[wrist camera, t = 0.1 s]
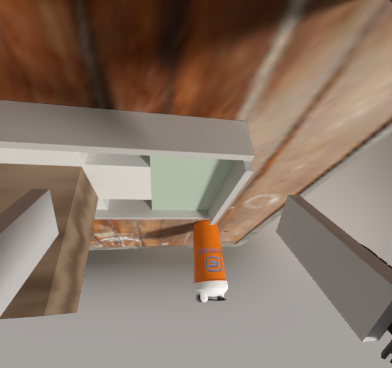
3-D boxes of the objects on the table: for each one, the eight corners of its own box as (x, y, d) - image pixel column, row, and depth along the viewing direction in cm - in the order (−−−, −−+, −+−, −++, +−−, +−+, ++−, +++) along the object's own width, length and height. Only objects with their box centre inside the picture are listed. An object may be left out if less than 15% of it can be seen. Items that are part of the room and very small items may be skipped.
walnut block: (-1, 163, 25) (-80, 324, 17) (81, 166, 26) (43, 315, 18) (36, 196, 32) (-6, 318, 25) (98, 197, 34) (76, 312, 26)
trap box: (-28, 97, 22) (-65, 151, 18) (246, 121, 27) (257, 166, 23) (55, 191, 39) (45, 227, 36) (209, 194, 45) (213, 226, 41)
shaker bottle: (217, 228, 66) (225, 300, 56) (189, 229, 65) (192, 302, 55) (222, 218, 58) (233, 300, 49) (191, 219, 58) (195, 302, 48)
